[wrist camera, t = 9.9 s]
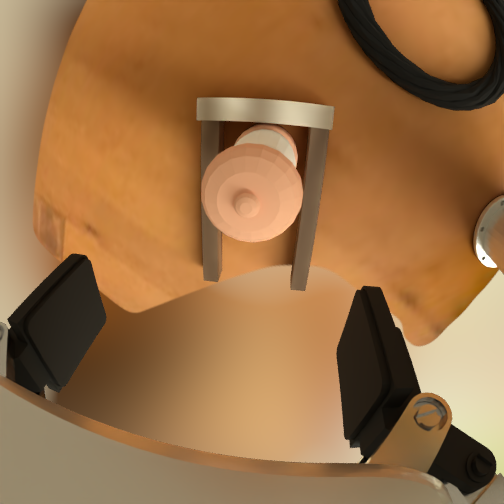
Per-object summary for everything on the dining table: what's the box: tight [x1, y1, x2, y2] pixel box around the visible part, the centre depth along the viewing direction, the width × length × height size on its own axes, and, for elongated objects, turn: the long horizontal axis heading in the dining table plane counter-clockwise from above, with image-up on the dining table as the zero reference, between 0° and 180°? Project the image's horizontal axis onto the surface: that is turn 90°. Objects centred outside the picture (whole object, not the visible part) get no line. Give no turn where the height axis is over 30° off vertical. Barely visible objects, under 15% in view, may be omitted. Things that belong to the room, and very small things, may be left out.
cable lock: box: [338, 0, 504, 111], centre depth 19 cm, size 28×4×30 cm
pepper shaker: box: [201, 123, 303, 242], centre depth 26 cm, size 7×7×19 cm
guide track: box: [197, 98, 334, 291], centre depth 35 cm, size 14×24×5 cm, turn 177°
